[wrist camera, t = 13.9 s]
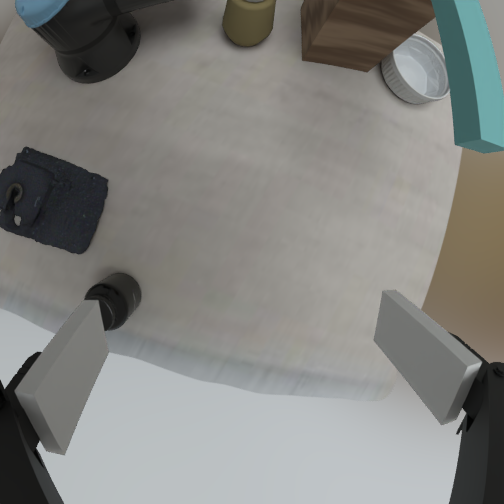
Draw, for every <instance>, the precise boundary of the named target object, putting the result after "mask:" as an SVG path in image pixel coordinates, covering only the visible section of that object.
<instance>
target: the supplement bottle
mask: <svg viewBox="0 0 504 504" xmlns="http://www.w3.org/2000/svg"><path fill="white" fill-rule="evenodd" d="M84 300H98V301H99V306H100V312H101V317H102V322H103V327H104V331H107V330H115V329H117V328H119V327H121V326H122V325H123V324H124V323H125V322H126V321H127V319H128V318H129V317H130V316H131V315H132V313H133V312H134V311H135V310H136V308H137V307H138V306H139V303H140V300H141V291H140V288H139V285H138V284H137V282H136V281H135V280H134V279H133V278H132V277H131V276H129V275H127V274H123V273H116V274H113V275H111V276H109V277H107V278H105V279H104V280H102V281H100V282H99V283H97V284H95V285H94V286H92V287H91V288H90V289H89V290H88V292H87V293H86V295H85V299H84Z"/></svg>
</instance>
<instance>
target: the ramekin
mask: <svg viewBox="0 0 504 504" xmlns="http://www.w3.org/2000/svg"><path fill="white" fill-rule="evenodd" d="M381 67H382V73H383V76H384V79H385V81H386V83H387V85H388V86H389V88H390V89H391V90H392V91H393V92H394V93H395V94H396V95H397V96H398V97H400V98H401V99H403V100H404V101H407V102H409V103H413V104H422V103H427V102H431V101H438V100H441V99H443V98H445V97H446V96H447V95H448V94H449V93H450V88H449V81H448V75H447V69H446V63H445V57H444V55H443V53H442V52H441V51H440V50H439V49H438V48H437V47H436V46H435V45H434V44H433V43H432V42H431V41H429V40H428V39H426V38H425V37H423V36H420V35H417V34H413V35H412V36H411V37H409V38H408V39H407V40H406V41H404V42H403V43H402V44H401V45H400V46H398V47H397V48H396V49H395V50H393V51H392V52H391V53H390V54H389V55H387V56H386V57H385V58H384V59H383V60H382V66H381Z"/></svg>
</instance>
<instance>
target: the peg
mask: <svg viewBox="0 0 504 504" xmlns="http://www.w3.org/2000/svg"><path fill="white" fill-rule="evenodd" d="M431 2H432V5H433V9H434V13H435V17H436V20H437V25H438V29H439V33H440V37H441V42H442V47H443V52H444V57H445V63H446V69H447V75H448V81H449V88H450V96H451V105H452V114H453V126H454V141H455V145H457V146H461V147H464V148H468V149H471V150H475V151H478V152H481V153H491V152H498V151H504V96H503V90H502V85H501V79H500V75H499V70H498V66H497V61H496V57H495V53H494V49H493V45H492V41H491V38H490V34H489V31H488V28H487V24H486V21H485V18H484V15H483V12H482V9H481V6H480V3H479V1H478V0H431Z"/></svg>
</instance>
